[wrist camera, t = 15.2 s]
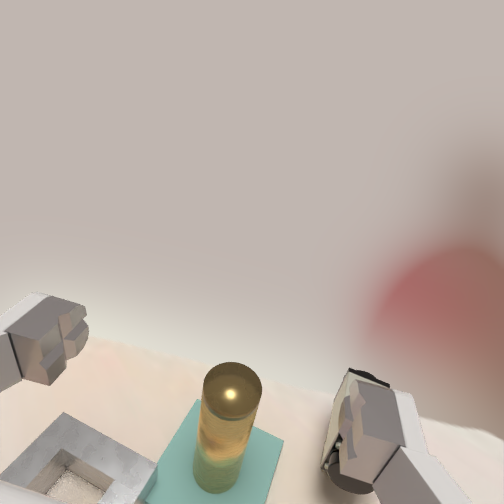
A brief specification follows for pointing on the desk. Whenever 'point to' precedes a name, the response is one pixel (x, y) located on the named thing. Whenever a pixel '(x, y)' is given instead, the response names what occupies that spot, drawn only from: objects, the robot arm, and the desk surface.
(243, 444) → the brass cylinder
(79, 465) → the housing
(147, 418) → the desk surface
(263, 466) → the pad
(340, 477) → the pneumatic valve
